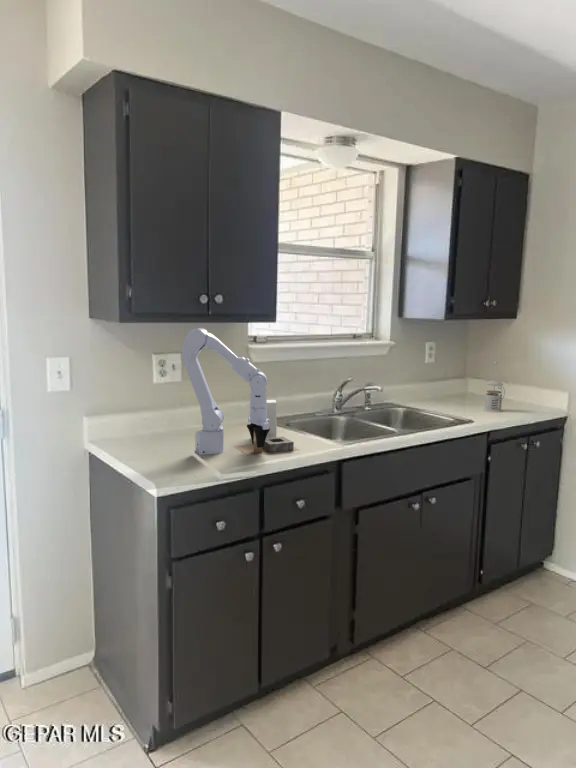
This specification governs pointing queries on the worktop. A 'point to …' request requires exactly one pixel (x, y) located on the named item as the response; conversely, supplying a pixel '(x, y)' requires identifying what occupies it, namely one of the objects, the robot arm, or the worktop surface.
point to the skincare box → (271, 418)
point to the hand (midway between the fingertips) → (258, 445)
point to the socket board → (251, 450)
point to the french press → (494, 397)
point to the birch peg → (256, 449)
